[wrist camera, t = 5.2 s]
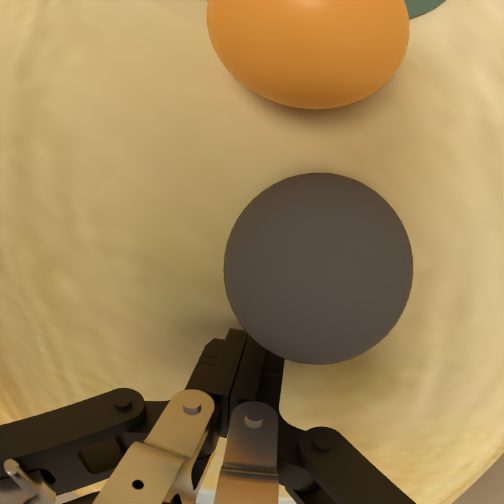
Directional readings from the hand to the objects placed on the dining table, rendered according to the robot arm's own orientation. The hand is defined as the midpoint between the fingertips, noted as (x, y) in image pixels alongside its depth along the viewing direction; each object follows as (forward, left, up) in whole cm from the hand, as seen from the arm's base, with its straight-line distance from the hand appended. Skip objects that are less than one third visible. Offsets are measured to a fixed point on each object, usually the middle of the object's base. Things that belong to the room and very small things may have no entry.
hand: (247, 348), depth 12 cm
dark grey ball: (+5, 0, +1) cm, 5 cm away
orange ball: (+11, +3, +1) cm, 12 cm away
